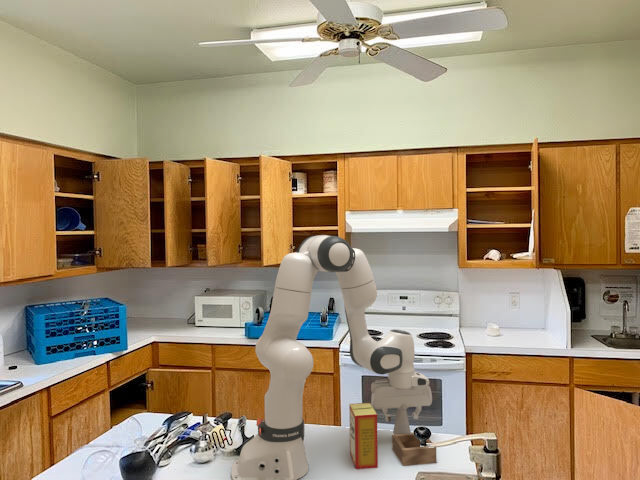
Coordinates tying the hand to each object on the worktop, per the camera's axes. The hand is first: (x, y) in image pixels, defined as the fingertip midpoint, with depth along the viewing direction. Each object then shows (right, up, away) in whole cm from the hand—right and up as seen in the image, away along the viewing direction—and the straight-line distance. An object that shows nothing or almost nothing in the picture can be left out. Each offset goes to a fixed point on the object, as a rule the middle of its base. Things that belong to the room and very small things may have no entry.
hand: (401, 419), depth 148 cm
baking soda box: (-14, -7, -13) cm, 20 cm away
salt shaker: (0, -7, 0) cm, 7 cm away
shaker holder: (+2, -7, -11) cm, 13 cm away
